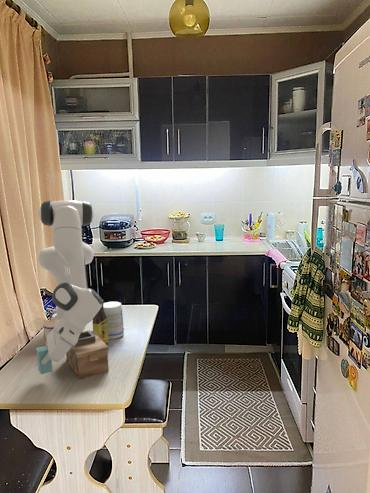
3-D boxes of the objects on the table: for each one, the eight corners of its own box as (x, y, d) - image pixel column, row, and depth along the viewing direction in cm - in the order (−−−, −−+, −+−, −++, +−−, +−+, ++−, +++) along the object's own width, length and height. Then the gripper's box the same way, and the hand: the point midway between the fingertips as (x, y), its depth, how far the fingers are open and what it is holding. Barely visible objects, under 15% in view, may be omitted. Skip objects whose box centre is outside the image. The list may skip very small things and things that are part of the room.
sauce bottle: (105, 348, 174) (102, 303, 171) (91, 347, 176) (88, 303, 172) (111, 342, 181) (108, 298, 177) (97, 341, 182) (94, 298, 178)
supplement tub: (127, 335, 187) (125, 304, 184) (109, 341, 181) (107, 309, 179) (117, 329, 195) (115, 299, 192) (98, 335, 189) (96, 304, 186)
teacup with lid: (50, 338, 187) (47, 313, 185) (69, 338, 186) (67, 313, 184) (38, 349, 176) (35, 323, 173) (58, 350, 174) (56, 323, 172)
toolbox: (65, 359, 165) (62, 332, 163) (94, 352, 171) (92, 326, 169) (79, 380, 149) (76, 350, 146) (110, 371, 154) (108, 342, 152)
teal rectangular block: (38, 370, 149) (36, 348, 148) (49, 367, 151) (47, 345, 150) (40, 374, 146) (38, 351, 144) (52, 371, 148) (50, 349, 146)
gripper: (59, 315, 158) (34, 343, 156) (63, 334, 139) (35, 367, 137) (72, 324, 160) (48, 352, 158) (77, 344, 141) (50, 376, 140)
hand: (42, 359), depth 148 cm, fingers closed on teal rectangular block, 4 cm apart
